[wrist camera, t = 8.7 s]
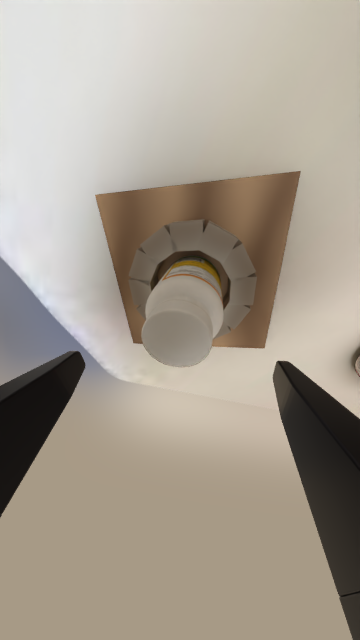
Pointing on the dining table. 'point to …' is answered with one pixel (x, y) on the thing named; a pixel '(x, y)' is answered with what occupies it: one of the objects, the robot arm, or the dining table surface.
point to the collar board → (222, 206)
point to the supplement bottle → (184, 313)
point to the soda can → (357, 366)
